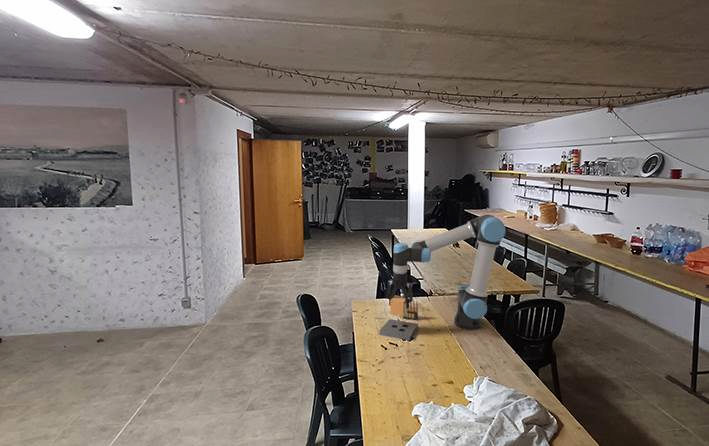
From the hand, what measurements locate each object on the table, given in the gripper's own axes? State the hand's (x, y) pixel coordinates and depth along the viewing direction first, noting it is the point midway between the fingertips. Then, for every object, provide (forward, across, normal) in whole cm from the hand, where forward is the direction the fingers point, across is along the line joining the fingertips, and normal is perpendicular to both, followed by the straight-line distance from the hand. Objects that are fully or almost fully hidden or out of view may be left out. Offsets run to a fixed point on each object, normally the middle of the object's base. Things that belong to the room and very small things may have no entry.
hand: (398, 312), depth 215 cm
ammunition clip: (+11, 0, -19) cm, 22 cm away
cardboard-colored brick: (+2, 0, 0) cm, 2 cm away
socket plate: (+11, 0, 0) cm, 11 cm away
